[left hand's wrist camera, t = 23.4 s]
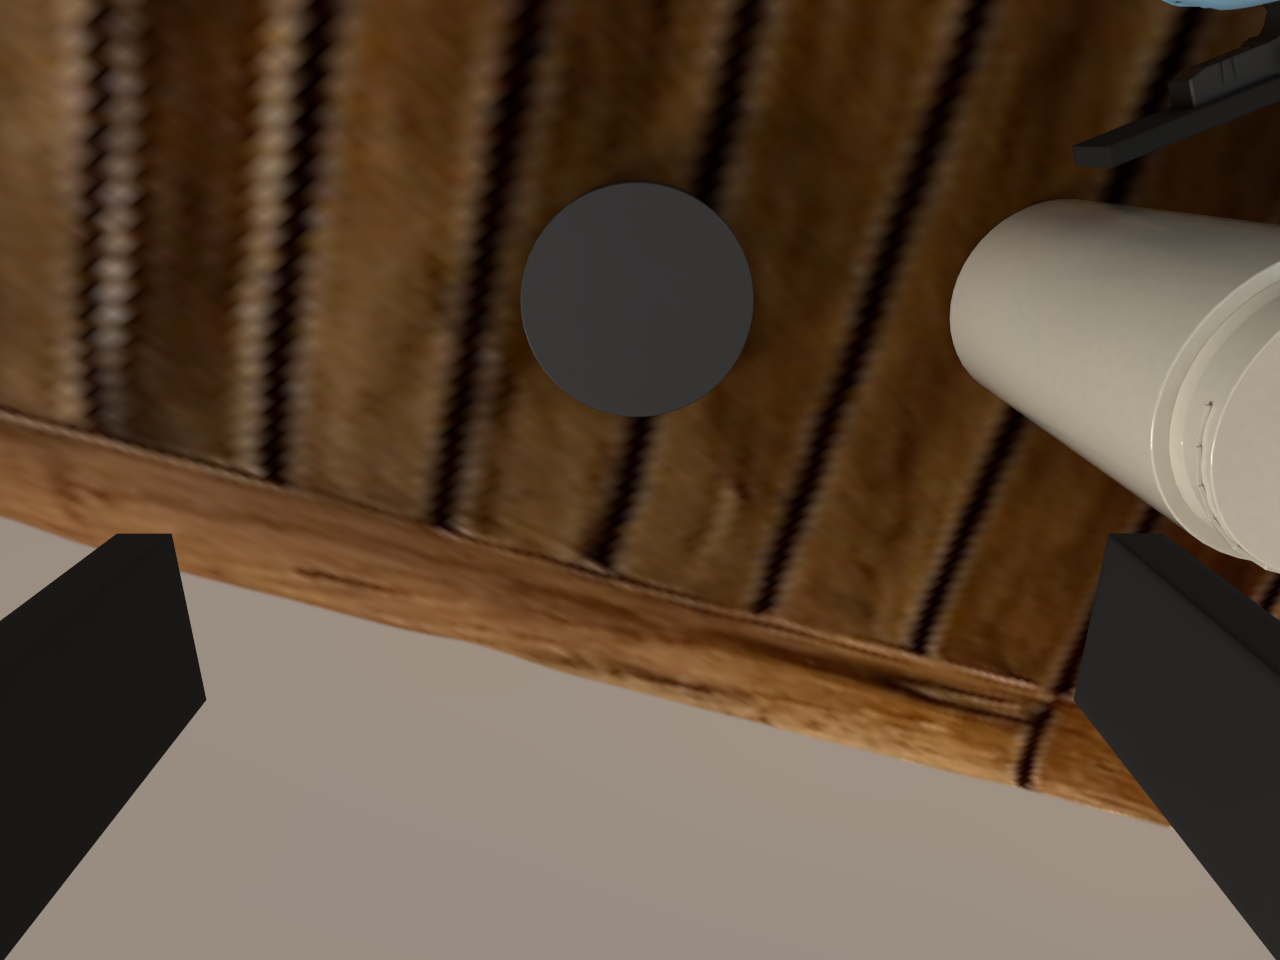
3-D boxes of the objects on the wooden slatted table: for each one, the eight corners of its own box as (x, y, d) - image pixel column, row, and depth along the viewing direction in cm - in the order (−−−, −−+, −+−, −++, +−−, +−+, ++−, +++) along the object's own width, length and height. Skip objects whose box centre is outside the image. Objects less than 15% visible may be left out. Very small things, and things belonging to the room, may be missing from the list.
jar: (908, 340, 41) (1117, 494, 23) (1038, 156, 38) (1392, 169, 20) (1063, 437, 43) (1370, 650, 25) (1199, 268, 40) (1656, 371, 22)
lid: (738, 407, 42) (743, 421, 40) (527, 399, 42) (521, 412, 40) (757, 185, 39) (764, 187, 36) (526, 174, 38) (519, 176, 36)
